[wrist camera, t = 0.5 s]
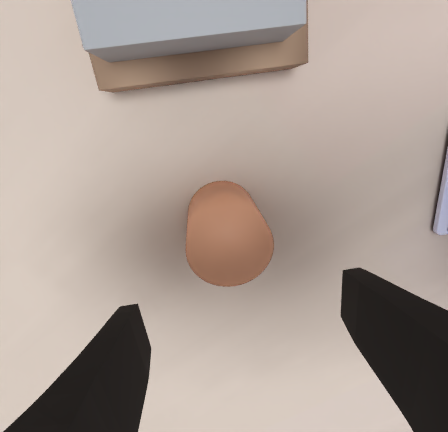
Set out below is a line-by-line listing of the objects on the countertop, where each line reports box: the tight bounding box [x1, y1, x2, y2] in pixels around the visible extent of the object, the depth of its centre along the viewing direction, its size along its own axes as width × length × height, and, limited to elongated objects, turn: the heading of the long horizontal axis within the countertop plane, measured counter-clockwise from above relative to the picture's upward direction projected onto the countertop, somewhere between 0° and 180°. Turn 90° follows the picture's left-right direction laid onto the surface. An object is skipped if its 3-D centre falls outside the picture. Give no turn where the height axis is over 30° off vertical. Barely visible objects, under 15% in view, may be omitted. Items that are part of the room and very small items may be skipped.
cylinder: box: [186, 181, 274, 286], centre depth 16 cm, size 4×4×5 cm
